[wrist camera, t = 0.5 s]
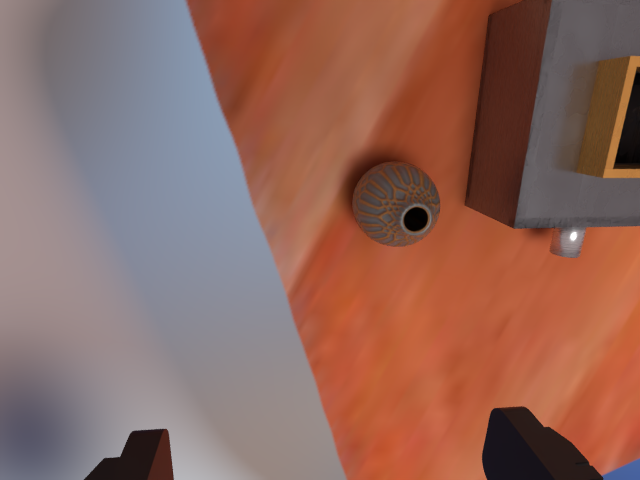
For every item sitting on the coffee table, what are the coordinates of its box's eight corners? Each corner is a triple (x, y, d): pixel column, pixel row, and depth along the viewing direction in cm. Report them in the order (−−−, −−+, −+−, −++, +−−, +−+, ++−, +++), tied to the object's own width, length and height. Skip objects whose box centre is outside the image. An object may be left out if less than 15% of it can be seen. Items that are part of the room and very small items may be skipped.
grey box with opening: (488, 15, 33) (583, -26, 23) (661, 23, 35) (817, -12, 25) (460, 241, 39) (525, 285, 29) (609, 238, 41) (718, 278, 31)
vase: (334, 217, 37) (353, 247, 28) (364, 145, 35) (393, 155, 27) (400, 241, 38) (436, 277, 30) (432, 173, 37) (479, 191, 28)
